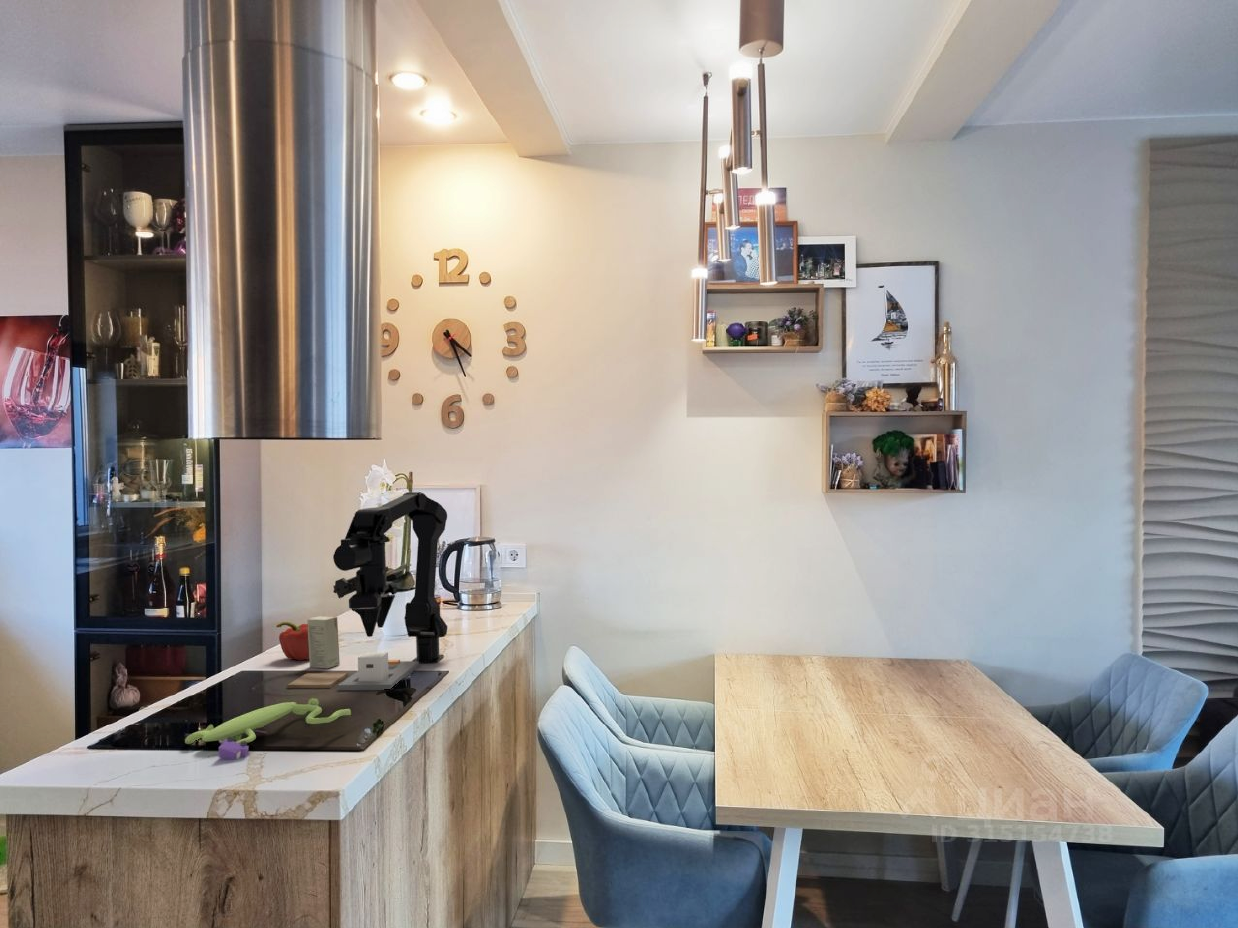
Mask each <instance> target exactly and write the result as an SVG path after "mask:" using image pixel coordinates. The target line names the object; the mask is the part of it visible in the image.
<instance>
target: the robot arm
mask: <svg viewBox="0 0 1238 928" xmlns="http://www.w3.org/2000/svg"><path fill="white" fill-rule="evenodd" d="M353 514H354V516H353V517H352V520H351V522H350V525H349V527H348V529H347V532H346V535H345V537H344V538H342V539H340V545H339V546H337V547H336V549H335V550H334V553H333V555H332V557H333V559H332V560H333V563H334V565H335V567H336V568H338V569H339V570H340V571H344V572H347V571H351V570H355V569H358V570H357V571H355V576H353V577H350V578H348V579H346V578H345V577H342V578H340V579H337V580H335V582H334V584H335V585H333V593H334V594H336V595H337V598H338V599H342V598H344V597H345V596H346V595H349V594H352V593H354V592H356V593H354V594H353V595H352V596H351V597H350V598H349V599H348V608H349V609H351V611H352V612H354V613H356V614H358V615H359V616H360V619H361V622H362V626H363V628H364V632H365V634H366V637H367V638H371V637H373V635H374V633H375V629H376V626H377V628H379V629H380V628H384V626H385V623H386V620H387V617H388V615H389V612H390V609H391V607H392V604H393V602H394V600H395V598H396V594H397V593H398V590H397V589H398V587H397V584H396V583H395V582H394V581H393V580H392V581H391V580H390V581H387V572H389V566H388V565H387V564H386V563H387V562H386V543H389V542H390V541H391V540H390V537H388V536H387V535H386V533H387V532H388V531H389V530H390V529H392V527H393V523H394V522H395V521H397V520H399V519H401V518H402V517H404V516H407V518H409V519H410V520H411V521H412V530H413V532H414V533H415V536H416V537H417V553H416V554H417V555H416V570H415V582H414V583H415V584H414V585H415V586H414V595H413V598H412V599H411V601H410V602H406V605H405V608H404V609H405V613H404V618H403V619H404V625H405V628H406V631H407V633H406V634H407V635H408V638H411V637H412V638H413V637H414V638H415V641H416V642H415V644H416V648H415V649H416V650H415V651H416V657H415V658H413V660H411V661H419V664H420V663H421V664H422V663H438V662H439V661H441V659H443V658H444V654H440V638H444V637H446V635H447V633H448V625H447V624H446V622H445V621H444V619H443V618H442V616H441V606H440V604H439V602H438V601H437V598H436V597H435V591H436V590H435V589H436V576H437V558H438V541H439V539H440V537H441V536H442V534H443V533H444V532H445V530H446V523H447V519H448V513H447V510H446V508H444V506H442V505H441V504H440V503H439V502H437V501H435V500H434V499H432V498H429V497H428V496H427V495H426V494H425V493H423V492H420V491H409V492H404V493H403V494H402V495H401V496H398V497H397V498H394V499H393V500H391V501H390V500H389V501H388V502H386V503H385V504H382V505H380V506H377V507H368V508H367V507H366V508H361V509H358V510H357V511H355V513H353Z"/></svg>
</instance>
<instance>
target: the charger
mask: <svg viewBox="0 0 1238 928" xmlns="http://www.w3.org/2000/svg"><path fill="white" fill-rule="evenodd" d="M388 660H389V652H364V653H362V654H361V655H359V656H358V657H357V671H358V682H362V681H386V680H387V679H388V678H389V670H388Z"/></svg>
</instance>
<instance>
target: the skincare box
mask: <svg viewBox="0 0 1238 928" xmlns="http://www.w3.org/2000/svg"><path fill="white" fill-rule="evenodd" d="M307 624H308V641H309V661H308V662H309V668H314V669H315V668H316V669H317V668H318V669H330V668H333V667H336V666H339V665H341V664H340V647H339V646H340V643H339V642H340V641H339V625H338V617H337V616H325V615H324V616H323V615H322V616H321V615H319V616H314V617H311V618H307Z"/></svg>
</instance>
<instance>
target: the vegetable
mask: <svg viewBox="0 0 1238 928" xmlns="http://www.w3.org/2000/svg"><path fill="white" fill-rule="evenodd" d="M282 626H287V627H290V628H287V629H286V630H285V631H282V632H280V633H279V637H278V641H279V644H280V647H281V650H282V653H283V654H284V655H285V657H286V658H287V659H289V660H298V661H304V659H305V660H308V659H309V641H308V623H302V624H299V625H298V626H297V625H296V624H295V623H292V622H289V621H283V622H280V623H278V624H277V625H276V628H281V627H282Z"/></svg>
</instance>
